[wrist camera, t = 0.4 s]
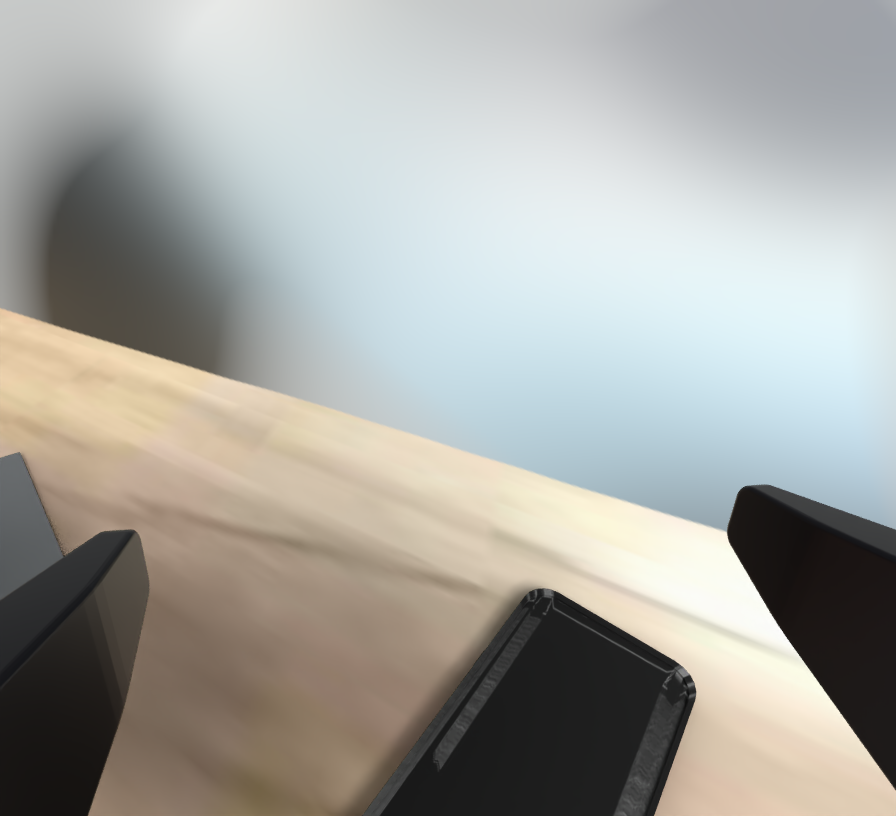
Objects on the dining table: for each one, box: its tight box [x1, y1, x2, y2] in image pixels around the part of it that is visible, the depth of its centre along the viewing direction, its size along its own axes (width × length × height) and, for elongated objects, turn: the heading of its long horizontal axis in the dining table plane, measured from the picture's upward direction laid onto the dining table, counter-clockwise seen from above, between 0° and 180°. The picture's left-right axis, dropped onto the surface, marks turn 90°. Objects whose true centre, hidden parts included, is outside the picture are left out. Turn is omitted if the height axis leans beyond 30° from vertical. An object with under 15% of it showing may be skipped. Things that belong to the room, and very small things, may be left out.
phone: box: [362, 588, 696, 816], centre depth 20 cm, size 8×1×15 cm
